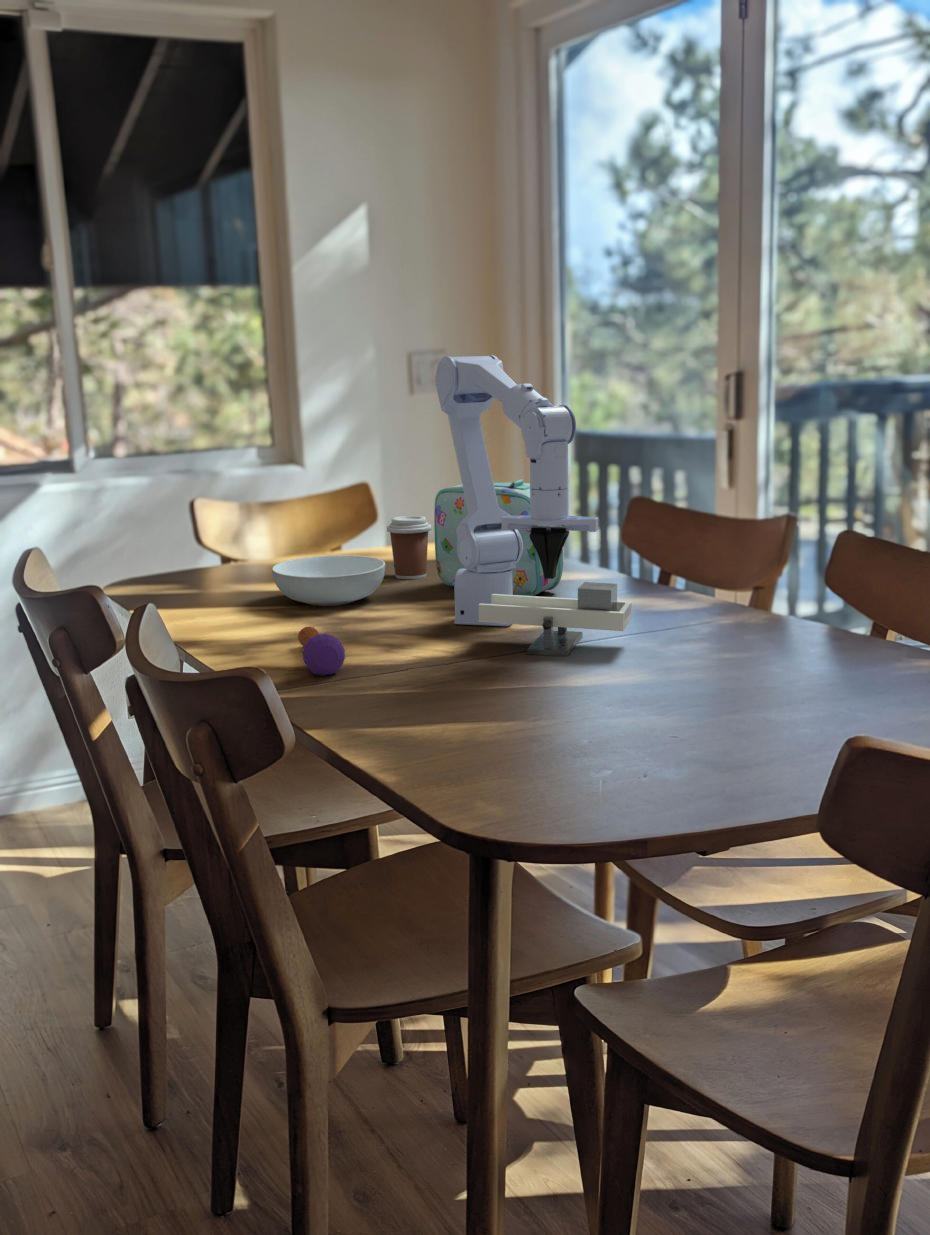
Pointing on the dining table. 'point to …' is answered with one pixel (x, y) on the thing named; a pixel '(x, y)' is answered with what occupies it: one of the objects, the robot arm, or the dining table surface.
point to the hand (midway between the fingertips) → (549, 577)
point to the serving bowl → (329, 578)
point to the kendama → (321, 651)
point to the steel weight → (597, 596)
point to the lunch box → (517, 503)
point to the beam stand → (554, 640)
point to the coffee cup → (409, 546)
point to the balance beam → (552, 612)
